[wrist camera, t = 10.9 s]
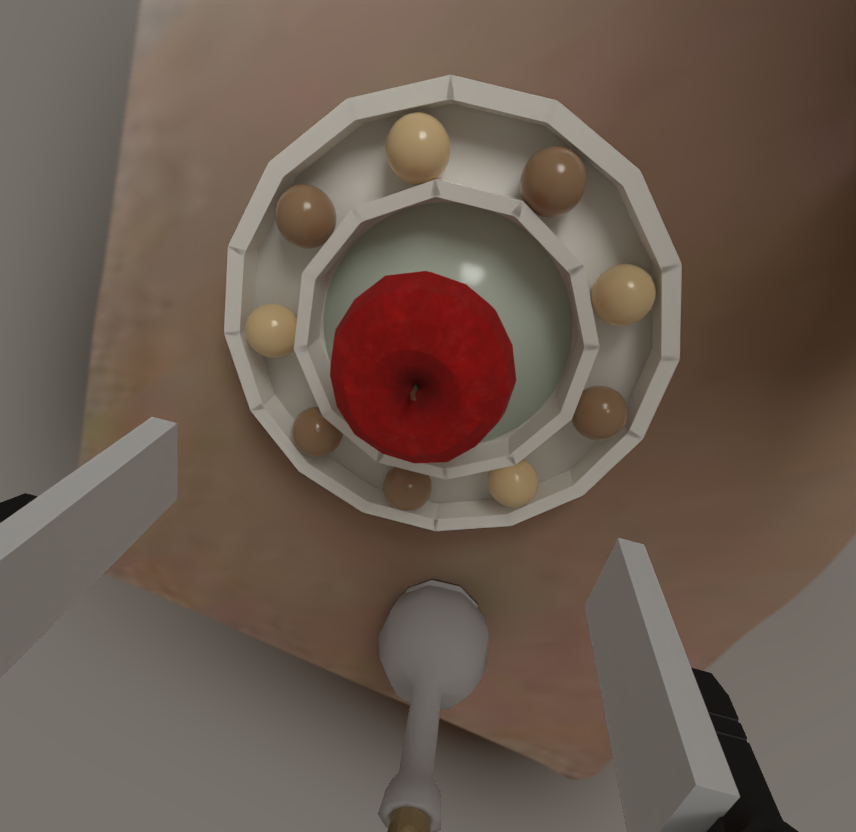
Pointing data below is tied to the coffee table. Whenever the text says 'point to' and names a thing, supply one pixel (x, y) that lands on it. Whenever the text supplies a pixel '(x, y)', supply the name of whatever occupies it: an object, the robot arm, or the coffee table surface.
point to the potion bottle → (428, 688)
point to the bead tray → (467, 263)
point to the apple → (421, 367)
